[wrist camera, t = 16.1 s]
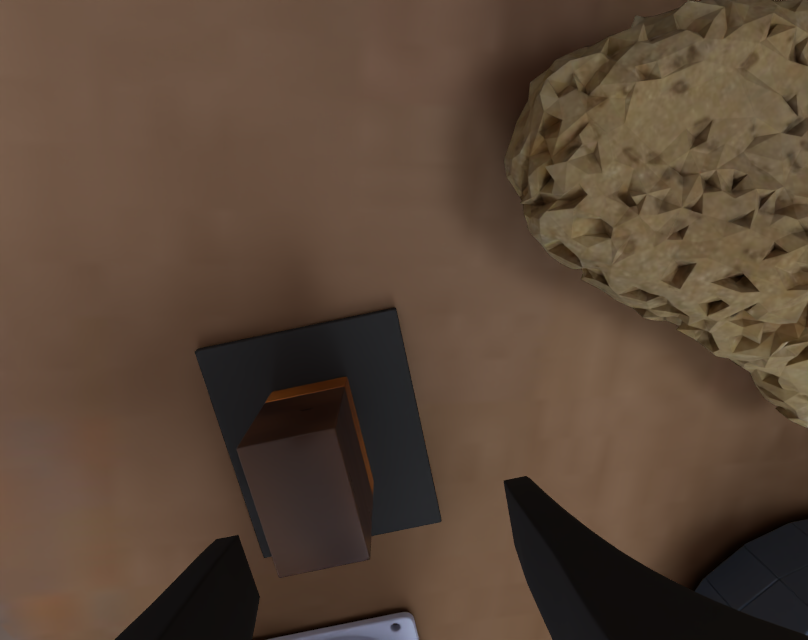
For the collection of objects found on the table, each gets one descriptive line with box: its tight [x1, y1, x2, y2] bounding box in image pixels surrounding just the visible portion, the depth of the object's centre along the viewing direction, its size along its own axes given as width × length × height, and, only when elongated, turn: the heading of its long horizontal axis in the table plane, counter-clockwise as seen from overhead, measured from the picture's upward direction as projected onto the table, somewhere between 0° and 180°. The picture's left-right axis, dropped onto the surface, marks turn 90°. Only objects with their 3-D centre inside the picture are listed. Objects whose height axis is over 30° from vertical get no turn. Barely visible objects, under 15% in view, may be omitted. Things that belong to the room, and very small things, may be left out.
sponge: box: [504, 0, 808, 428], centre depth 17 cm, size 13×8×20 cm
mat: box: [195, 308, 441, 558], centre depth 21 cm, size 9×11×1 cm
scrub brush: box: [237, 377, 374, 578], centre depth 19 cm, size 4×6×5 cm, turn 12°
